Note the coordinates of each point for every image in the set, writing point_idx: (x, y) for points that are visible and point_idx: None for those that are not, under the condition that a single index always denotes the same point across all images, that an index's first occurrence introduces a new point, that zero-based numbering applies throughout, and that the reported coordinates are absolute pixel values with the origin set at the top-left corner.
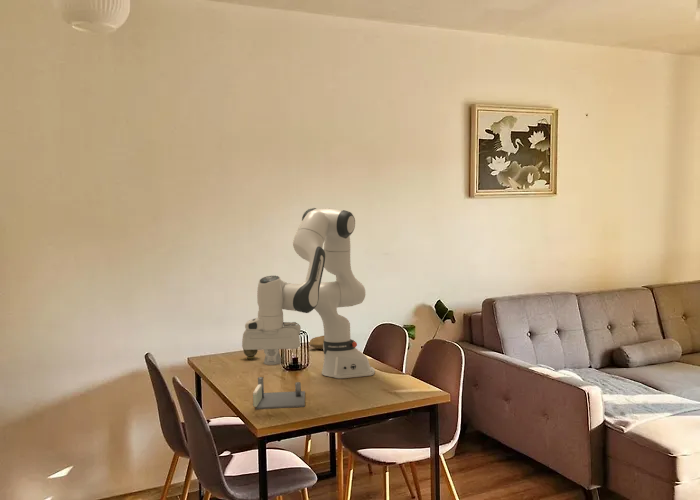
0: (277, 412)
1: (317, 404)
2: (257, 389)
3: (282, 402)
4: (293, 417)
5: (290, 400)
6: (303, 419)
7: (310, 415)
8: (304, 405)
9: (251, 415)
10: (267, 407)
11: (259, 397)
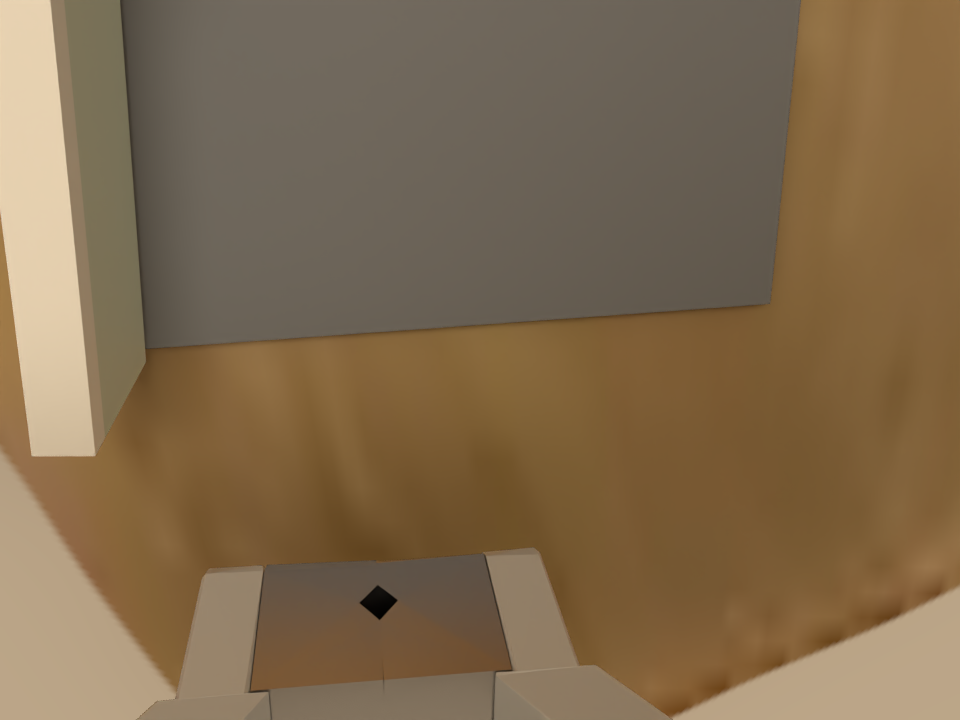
0: (440, 469)
1: (924, 204)
2: (62, 276)
3: (481, 148)
4: (622, 621)
5: (593, 61)
6: (716, 672)
7: (792, 572)
8: (767, 303)
9: (143, 554)
10: (293, 335)
11: (113, 147)
